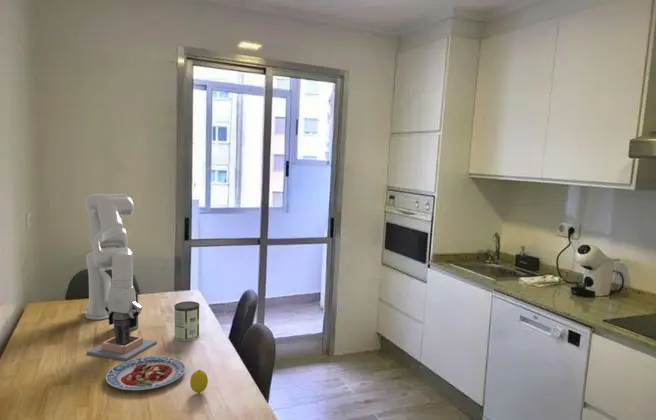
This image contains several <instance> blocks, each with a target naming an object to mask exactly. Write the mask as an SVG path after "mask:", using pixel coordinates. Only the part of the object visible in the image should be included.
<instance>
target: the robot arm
mask: <svg viewBox="0 0 656 420" xmlns="http://www.w3.org/2000/svg"><path fill="white" fill-rule="evenodd" d="M84 205H85V209H86V212H87V215H88V216H89V217H88V218H89V241H90V245H91V247H92V251H90V252H89V253H88V254H86V258H85V259H86V267H87V273H88V304H86V305H85V306H84V307H83V310H84V311H87V313H86V314H85V319H87V320H93V321H96V320H97V321H98V320H99V321H100V320H106V319H108V325H110V326H111V325H114V324H113V319H112V318H113V314H114V312H117V313H124V314H127V313H128V314H129V315H130V317H131V318H130V328H133V327H135V326H136V324H137V316H138V317H139V316H140V314H141V312H142V310H143V307H142V306H141V305H140V304H139V303H138V304H137V303H136V295H135V291H136V289H135V286H134V268H133V267H134V261H133V260H134V254H133V253H134V252H133V250H131V249H130V248H129V247H128V243H129V241H128V233H127V230H126V229H125V228H124V223H123V218H122V217H130V216H133V214H134V212H135V203H134V202H133V199H132V198H131V197H130V196H129V195H127V194H125V193H94V194H89V195H87V196H86V197H85V199H84ZM109 270H111V276H110V274H108V273H107V272H106V271H109ZM136 309H137V311H136ZM132 312H133V313H132Z"/></svg>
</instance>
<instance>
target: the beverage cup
mask: <svg viewBox="0 0 656 420" xmlns="http://www.w3.org/2000/svg"><path fill="white" fill-rule="evenodd" d="M130 318H131V317H130V315H129V314H128V313H127V314H124V313H117V312H114V314H113V318H112V319H113V324H112V325H113V330H114V337H115V340H116V344H117V345H123V346H125V345H127V344H129V339H130V335H131V330H130Z"/></svg>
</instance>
